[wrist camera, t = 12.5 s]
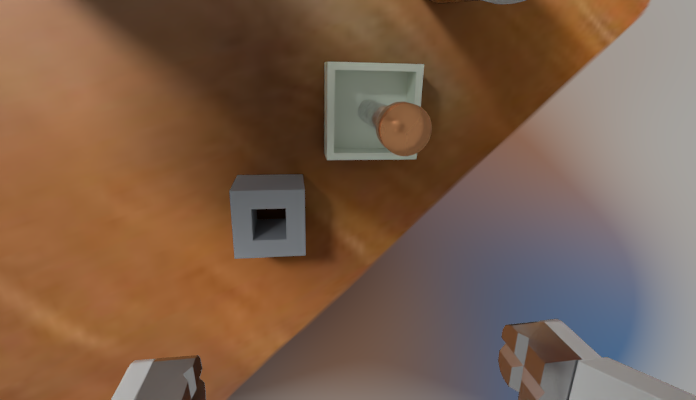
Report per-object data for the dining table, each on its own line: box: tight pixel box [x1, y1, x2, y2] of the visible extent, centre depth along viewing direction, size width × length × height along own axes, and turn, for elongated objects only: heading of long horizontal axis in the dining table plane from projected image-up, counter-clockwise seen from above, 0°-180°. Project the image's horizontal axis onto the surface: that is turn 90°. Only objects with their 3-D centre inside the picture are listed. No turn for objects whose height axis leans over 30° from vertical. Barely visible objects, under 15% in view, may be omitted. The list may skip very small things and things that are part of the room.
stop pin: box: [358, 100, 432, 156], centre depth 29 cm, size 3×3×12 cm
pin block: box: [229, 174, 306, 259], centre depth 34 cm, size 6×6×5 cm
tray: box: [324, 62, 424, 160], centre depth 34 cm, size 8×8×3 cm
